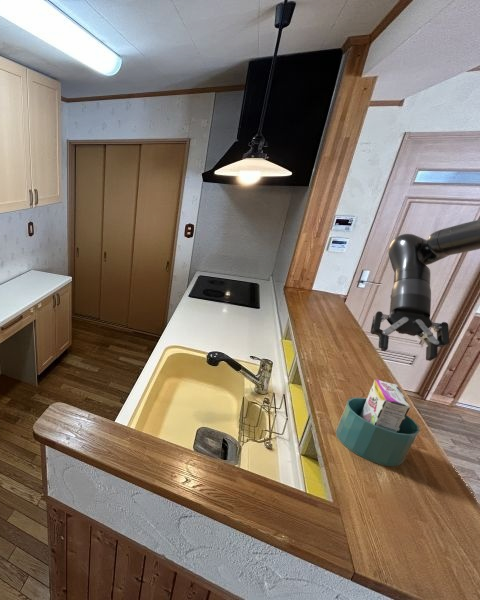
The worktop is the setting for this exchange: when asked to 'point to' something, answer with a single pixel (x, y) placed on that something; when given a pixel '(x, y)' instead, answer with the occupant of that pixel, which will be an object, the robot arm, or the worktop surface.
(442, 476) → the worktop surface
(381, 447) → the bucket
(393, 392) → the candy bar box
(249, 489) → the worktop surface
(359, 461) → the worktop surface
